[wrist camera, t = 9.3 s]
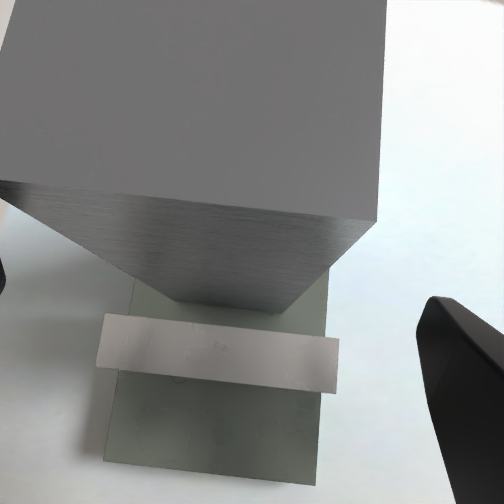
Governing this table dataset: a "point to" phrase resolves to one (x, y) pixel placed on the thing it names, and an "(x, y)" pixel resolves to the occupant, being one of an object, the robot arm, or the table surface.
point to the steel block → (198, 137)
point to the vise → (219, 385)
